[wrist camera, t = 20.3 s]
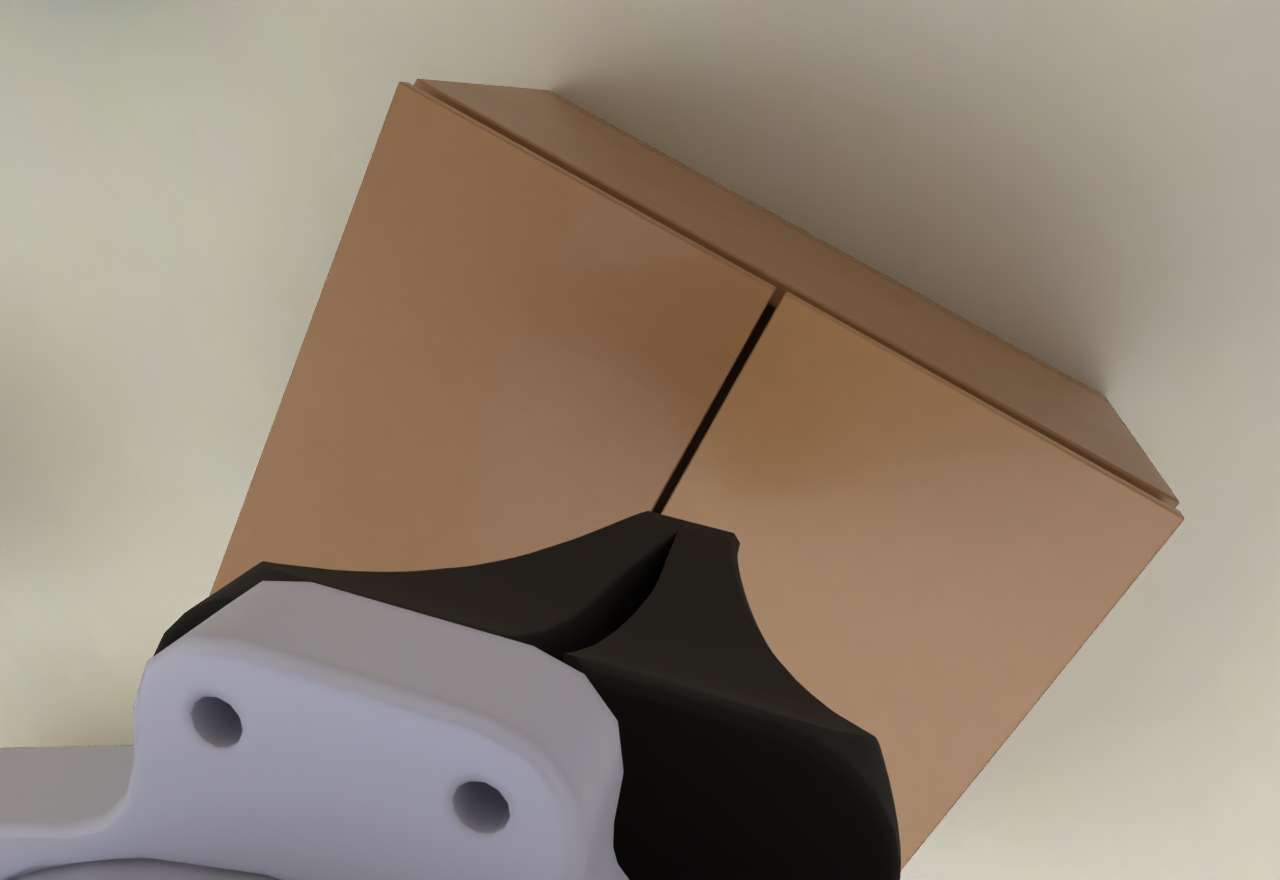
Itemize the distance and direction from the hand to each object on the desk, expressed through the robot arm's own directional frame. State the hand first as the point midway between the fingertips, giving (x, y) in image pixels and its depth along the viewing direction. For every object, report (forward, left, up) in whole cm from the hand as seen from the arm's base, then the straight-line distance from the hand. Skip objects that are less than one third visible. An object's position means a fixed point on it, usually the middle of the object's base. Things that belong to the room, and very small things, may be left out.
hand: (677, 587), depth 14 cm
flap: (-3, +3, -4) cm, 5 cm away
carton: (+1, +3, -10) cm, 11 cm away
